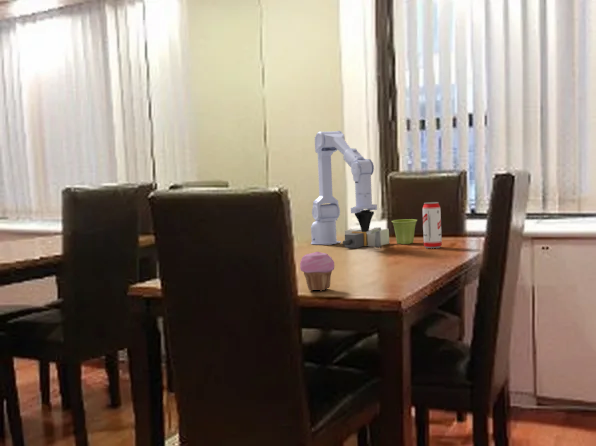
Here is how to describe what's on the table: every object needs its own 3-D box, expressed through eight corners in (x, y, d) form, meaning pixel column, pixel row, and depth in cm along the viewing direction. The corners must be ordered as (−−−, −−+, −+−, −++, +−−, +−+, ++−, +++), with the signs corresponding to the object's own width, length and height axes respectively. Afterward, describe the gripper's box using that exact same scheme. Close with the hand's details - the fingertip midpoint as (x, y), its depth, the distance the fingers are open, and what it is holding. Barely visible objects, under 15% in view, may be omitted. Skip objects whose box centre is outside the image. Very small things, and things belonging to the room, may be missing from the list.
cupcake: (328, 294, 184) (326, 254, 184) (296, 293, 188) (294, 254, 187) (340, 287, 193) (338, 249, 192) (308, 287, 196) (306, 249, 195)
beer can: (441, 246, 266) (439, 201, 264) (442, 248, 259) (441, 202, 258) (423, 247, 266) (421, 202, 265) (424, 249, 260) (422, 203, 259)
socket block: (342, 245, 282) (341, 230, 281) (358, 242, 290) (357, 227, 290) (379, 247, 272) (378, 231, 272) (393, 243, 281) (393, 228, 280)
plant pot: (419, 244, 275) (418, 220, 274) (393, 245, 275) (393, 222, 274) (416, 241, 284) (415, 218, 283) (391, 242, 284) (390, 220, 284)
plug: (338, 248, 272) (338, 234, 272) (360, 243, 284) (359, 230, 283) (351, 249, 269) (350, 234, 268) (372, 244, 280) (372, 230, 280)
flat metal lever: (372, 234, 261) (372, 231, 261) (365, 234, 262) (365, 231, 262) (381, 230, 274) (381, 227, 274) (374, 230, 275) (374, 227, 275)
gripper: (362, 195, 256) (363, 234, 257) (383, 192, 268) (385, 229, 269) (345, 195, 261) (346, 233, 262) (366, 192, 272) (368, 229, 273)
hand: (365, 231), depth 266 cm, fingers closed
